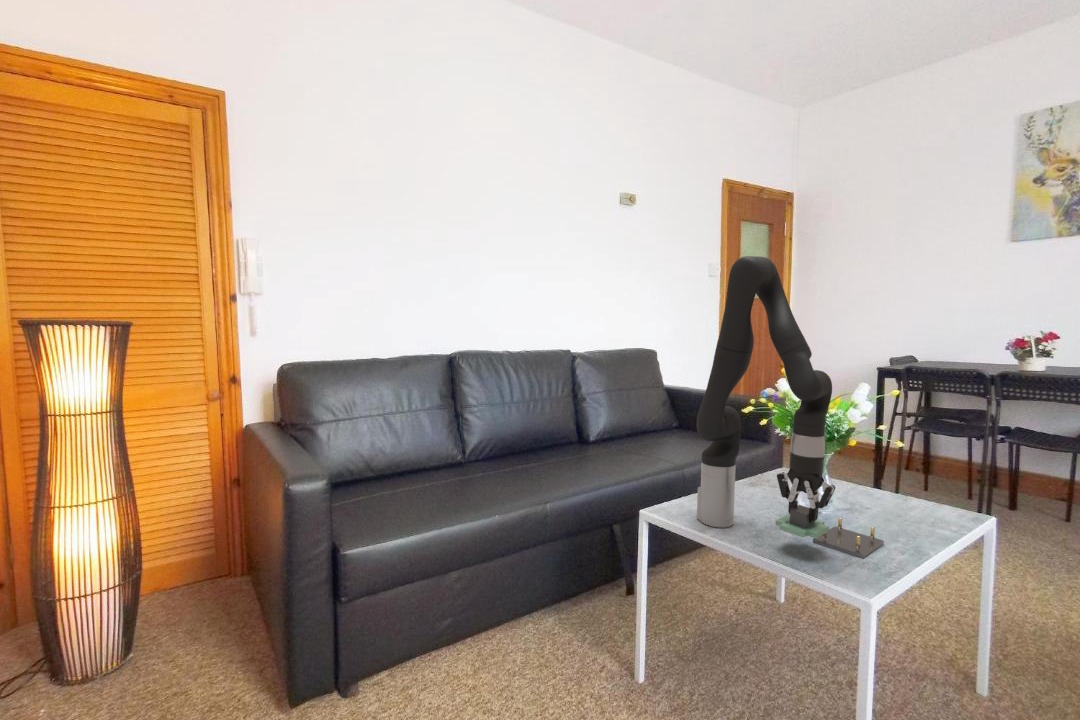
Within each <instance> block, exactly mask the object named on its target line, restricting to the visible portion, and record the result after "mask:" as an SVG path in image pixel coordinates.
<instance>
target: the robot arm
mask: <svg viewBox="0 0 1080 720" xmlns="http://www.w3.org/2000/svg"><path fill="white" fill-rule="evenodd" d="M755 297H758V299H759V300H760V302H761V303H762V305H763V308H764V311H765V313H766V317H767V318H766V319H767V325H768V331H769V332H768V333H769V335H770V339H771V342H772V344H773V346H774V349H775V350H776V352H777V354H778V357H779V358H780V360H781V361H782V364H783V370H784V372H785V376H786V381H787V384H788V386H789V388H790V391H791V392H792V393H793V395H794V396H795V397H796V398H797V399H798V400H800V405H799V407H798V409H797V410H796V411H795V412H794V414H793V422H792V423H793V424H792V435H791V439H790V451H789V453H790V454H789V467H788V468H789V470H788V471H787V472H783V471H782V472H780V473H777V474H776V478H777V484H778V487H779V491H780V495H781V497H782V498H785V499H787V501H788V508H787V509H788V510H787V512H788V514H790V510H791V509H793V508H795V507H797V506H799V504H798V502H799V501H798V498H799V496H800V493H801V492H803V493H805V494H806V495H807V499H808V501H809V505H810V507H808V508H809V522H810V523H813V522H815V521H816V520H817V519H818V517H819V509H824V508H825V507H827V506H828V505H829V504H830V503H829V502H830V501H831V498H832V496H833V495H834V492H835V490H836V486H835V485H834V484H829V483H828V482H825V480H824V479H825V478H824V476H823V475H824V466H825V464H824V463H825V454H826V449H825V448H826V442H825V435H826V434H825V431H826V418H827V413H828V410H829V406H830V403H831V399H832V396H833V382H832V379H831V377H830V376H829V375H828V374H827V373H826V372H825V371H824V370H823V371H822V370H819V369H818V370H817V369H816V370H815V369H814V368H813V365H812V363H811V358H812V356H813V354H812V350H811V347H810V345H809V344H808V342H807V340H806V337H805V336H804V334H803V333H802V331H801V329H800V327H799V325H798V322H797V320H796V318H795V316H794V314H793V311H792V310H791V306H790V304H789V301H788V298H787V295H786V292H785V290H784V287H783V283H782V280H781V277H780V274H779V271H778V269H777V267H776V264H775V263H774V262H773V261H772V260H771V259H770V258H769V257H766V256H752V255H746V256H742V257H739V258H738V259H736V260H735V261H734V263H733V264H732V265H731V267H730V271H729V274H728V282H727V288H726V297H725V298H726V299H725V306H724V311H723V316H722V319H721V320H722V321H721V326H720V331H719V335H718V339H717V343H716V347H715V352H714V356H713V361H712V365H711V369H710V374H709V378H708V382H707V386H706V389H705V392H704V394H703V398H702V401H701V404H700V407H699V410H698V413H697V415H696V416H697V417H696V431H697V434H698V435H699V437H700V438H701V439H702V440H703V441H707V442H711V443H710V445H709V446H708V447H706V449H704V450H703V451H702V452H701V467H700V469H701V470H700V486H698V487H697V493H696V495H697V497H696V498H697V500H696V501H697V503H696V520H698V519H699V520H698V521H700V523H702V524H703V523H704V524H703V525H705V524H706V526H708V525H709V526H710V527H712V528H729V527H732V526H733V525H734V519H735V515H734V514H735V497H736V496H735V495H736V494H735V490H736V467H737V466H736V465H737V464H736V461H737V458H738V456H739V452H740V446H741V434H742V433H741V432H742V421H741V416H740V414H739V412H738V411H737V410H736V408H733V407H732V406H729V405H727V402H728V399H729V397H730V395H731V394H732V392H733V390H734V389H735V388H736V387H737V385H738V383H740V381H741V380H742V378H743V376H744V375H745V373H747V371H748V369H749V366H750V362H751V358H752V355H753V350H754V344H755V338H754V336H755V335H754V332H753V326H752V316H751V315H752V308H753V305H754V302H755V301H754V300H755ZM789 482H790V483H791V488H790V485H789ZM821 487H822V492H823V494H822V496H821V498H820V499H819V496H820V494H819V493H820V492H819V489H820V488H821ZM818 520H819V519H818Z"/></svg>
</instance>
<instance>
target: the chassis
mask: <svg viewBox="0 0 1080 720" xmlns="http://www.w3.org/2000/svg"><path fill="white" fill-rule="evenodd" d="M875 528H876V527H874V526H871V527H870V535H865V534H862V533H860V532H856V531H853V530H849V529H846V528H843V518H841V517H839V518H838V519H837V526H836V525H835V526H833V527H832V528H829V531H828V532H826V533H824V534H823V535H821V536H819V537H818V538H813V537H812V538H813V539H812V543H814V544H817V545H820V546H823V547H826V548H829V549H833V550H835V551H839V552H842V553H844V554H848V555H851V556H855V557H857V558H859V559H865V558H866V557H868V556H869V555H870V554H872V553H874V552H875V551H876V550H877V549H879V548H881V547H882V546H884V543H885V541H884V540H883V539H879V538H876V537H875V535H876V534H875V532H876V529H875Z"/></svg>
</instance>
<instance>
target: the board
mask: <svg viewBox="0 0 1080 720" xmlns="http://www.w3.org/2000/svg"><path fill="white" fill-rule="evenodd" d="M809 508H810V507H808V506H804V505H801V504H798V505H797V507H795V508H793V509H791V510H790V513H788V514H786V515H783V516H781V517H779V518H778V519H776V520H775V526H778V528H779V530H781V531H783V532H786V533H788V534H791V535H794V536H797V537H800V538H803V539H805V538H806V537H810V538H818V537H819V536H821V535H823V534H824V533H826V532H828V531H829V529H830V525H827V524H825V521H824V520H821V519H817V520H816V521H815V522H813V523H810V522H809Z"/></svg>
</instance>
